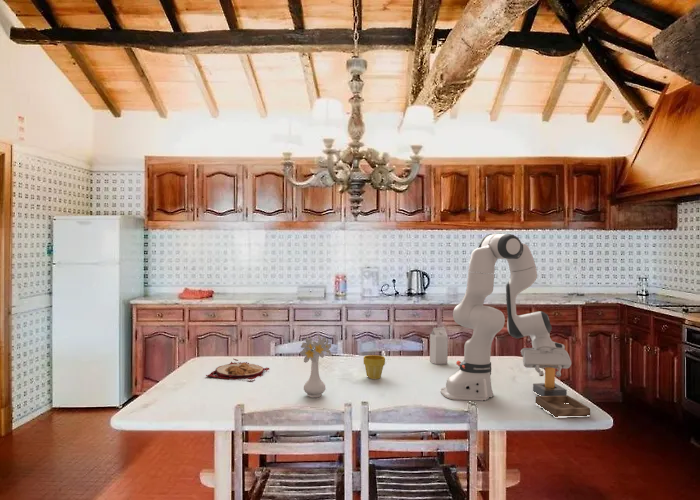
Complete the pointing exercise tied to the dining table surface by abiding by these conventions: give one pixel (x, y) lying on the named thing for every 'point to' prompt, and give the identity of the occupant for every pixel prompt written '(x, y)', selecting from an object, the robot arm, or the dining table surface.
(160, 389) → the dining table surface
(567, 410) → the walnut tray
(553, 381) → the pin
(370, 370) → the plant pot
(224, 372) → the plate with food
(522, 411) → the dining table surface
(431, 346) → the milk carton
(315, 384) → the flower vase
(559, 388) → the bracket
